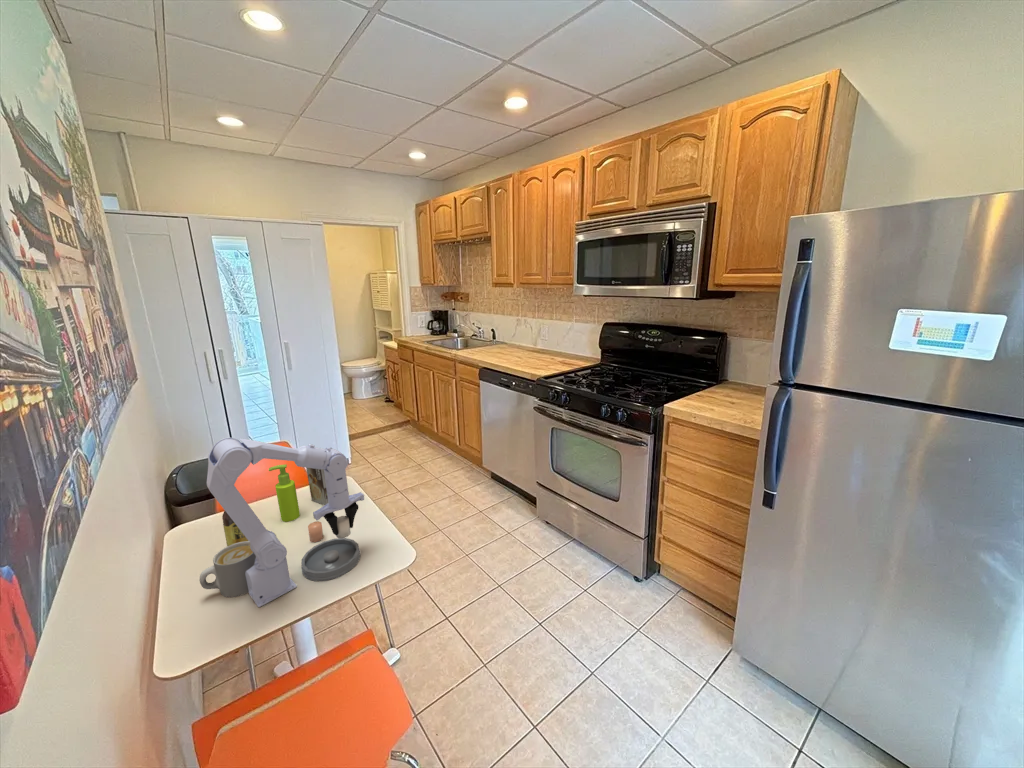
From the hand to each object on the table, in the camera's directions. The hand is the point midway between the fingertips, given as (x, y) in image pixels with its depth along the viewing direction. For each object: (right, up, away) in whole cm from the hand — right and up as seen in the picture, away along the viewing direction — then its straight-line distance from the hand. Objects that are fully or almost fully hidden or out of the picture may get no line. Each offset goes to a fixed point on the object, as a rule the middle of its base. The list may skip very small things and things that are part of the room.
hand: (343, 530), depth 121 cm
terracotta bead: (-13, -6, +10) cm, 17 cm away
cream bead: (0, -1, 0) cm, 1 cm away
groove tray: (-3, -9, -1) cm, 10 cm away
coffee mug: (-26, -12, -10) cm, 30 cm away
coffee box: (-21, -1, +34) cm, 39 cm away
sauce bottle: (-34, -8, +5) cm, 35 cm away
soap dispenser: (-28, -4, +22) cm, 36 cm away
